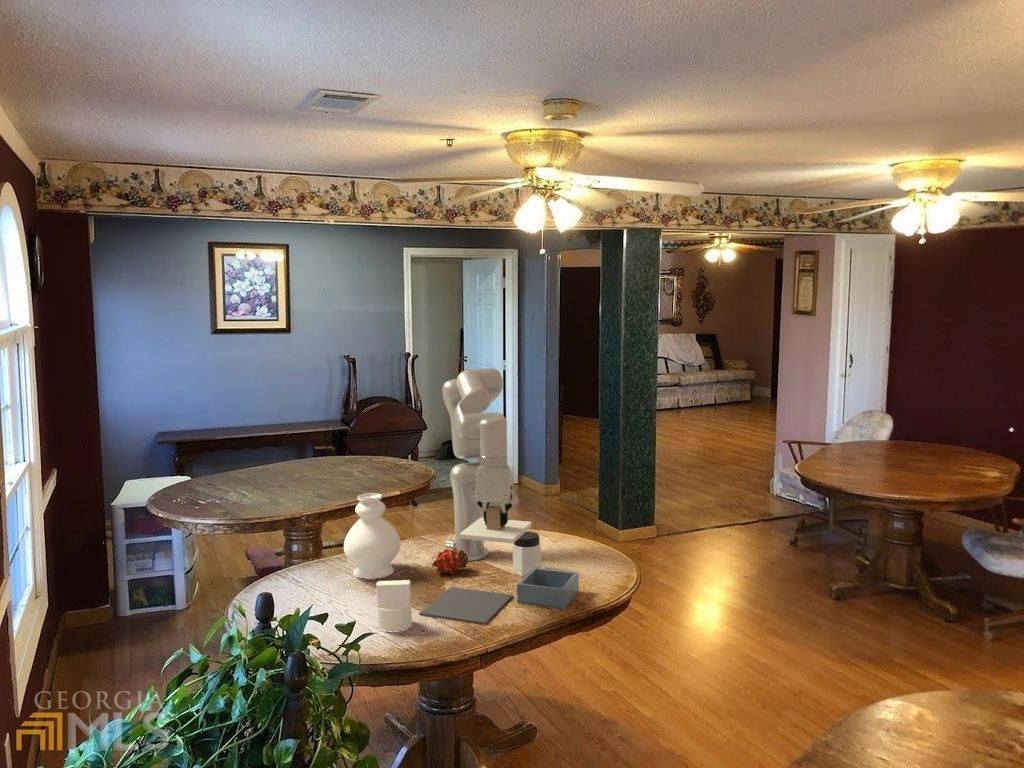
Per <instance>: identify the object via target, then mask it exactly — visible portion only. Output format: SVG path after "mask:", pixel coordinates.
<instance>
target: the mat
mask: <svg viewBox="0 0 1024 768" xmlns="http://www.w3.org/2000/svg"><path fill="white" fill-rule="evenodd" d="M513 597H514V595H513V594H508V593H502V592H495V591H494V592H493V591H487V590H486V591H485V590H479V589H471V588H463V587H462V588H461V587H456V586H450V587H449V588H448V589H446V590H445V591H444V592H443V593H442V594H440V596H438V597H436V599H434V600H433V601H432V602H430V603H429V604H428V605H427V606H426V607H425V608H424V609H423V610H421V611H420V612H419V614H418V615H419V616H423V615H424V616H423V617H429V616H431V618H436V617H438V619H443V618H445V620H451V621H458V622H464V621H465V623H473V624H479V625H484V626H485V625H486V624H488V622H490V621H491V620H492V619H493V618H494V617H495V616H496V615H497V614H498V612H500V611H501V610H502V608H503V607H504V606H505V605H506V604H507V603H509V602H510V600H511V599H512V598H513ZM486 626H487V625H486Z"/></svg>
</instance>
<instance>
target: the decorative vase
mask: <svg viewBox="0 0 1024 768" xmlns="http://www.w3.org/2000/svg"><path fill="white" fill-rule="evenodd" d="M382 498H383V495H382V494H381V493H378V492H377V493H375V492H370V493H369V492H368V493H363V494H360V495H358V496H357V501H359V502H358V504H357V505H356V506H355V514H356V515H357V516H358V517H359V519H358V520H357V521H356V522H355V523H354V524H353V526H352V527H351V528H350V529H349V531H348V532H347V534H346V536H345V539H344V541H343V551H344V554H345V556H346V558H348V560H349V561H350V562H351V563H352V564H353V565H354V566H355V569H354V570H353V576H354V575H355V576H356V577H355V576H354V577H355V578H357V577H359V578H358V579H360V578H365V579H364V580H377V579H376V578H379V579H383V578H386V577H388V576H390V575H392V574H393V573H394V567H393V566H392V565H390V564H392V562H393V561H394V560H395V557H397V555H398V553H399V551H400V549H401V539H400V536H399V533H398V532H397V530H396V529H395V527H394V526H393V525H392V524H391V523H390V522H389V521H388V520H386V518H384V517H383V516H382V515H383V514H384V513H385V511H386V505H385V503H384V502H383V501H381V499H382ZM366 578H367V579H366ZM374 578H375V579H374Z"/></svg>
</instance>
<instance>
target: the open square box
mask: <svg viewBox="0 0 1024 768" xmlns="http://www.w3.org/2000/svg"><path fill="white" fill-rule="evenodd" d="M579 576H580V575H579V572H577V571H575V572H574V571H568V570H567V571H566V570H559V569H549V568H542V567H541V568H533V569H532V570H531V571H530V572H529V573H528V574H527V575H526V576H525V577H522V578H521V580H520V581H518V583H516V596H517V598H516V602H517V604H518V603H519V605H525V604H528V605H527V606H533V605H537V606H536V607H540V606H544V607H543V608H548V607H551V608H550V609H555V608H557V609H558V610H566V608H567V607H568V606H569V605H570V603H571V602H572V601H573V600H574V598H575V597H576V596H577V594H578V593H579V592H580V588H579V587H580V586H579V585H580V584H579V583H580V582H579V578H580V577H579ZM578 591H579V592H578ZM520 603H521V604H520ZM545 606H546V607H545Z"/></svg>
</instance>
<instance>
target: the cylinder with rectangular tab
mask: <svg viewBox="0 0 1024 768" xmlns="http://www.w3.org/2000/svg"><path fill="white" fill-rule="evenodd" d="M375 585H376V586H375V587H376V602H377V603H376V604H377V619H378V620H377V623H378V625H377V626H379V627H378V629H379V628H380V629H383V630H386V631H392V632H394V631H397V632H396V633H399V632H398V631H402V632H404V631H403V630H405V631H407V630H409V629H410V628H411V627H412V626H413V619H412V618H413V615H412V595H411V580H410V579H402V580H380V581H379V580H378V581H377V582H376V584H375ZM411 625H412V626H411ZM409 627H410V628H409ZM408 628H409V629H408ZM380 629H379V630H380ZM406 629H407V630H406Z"/></svg>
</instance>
